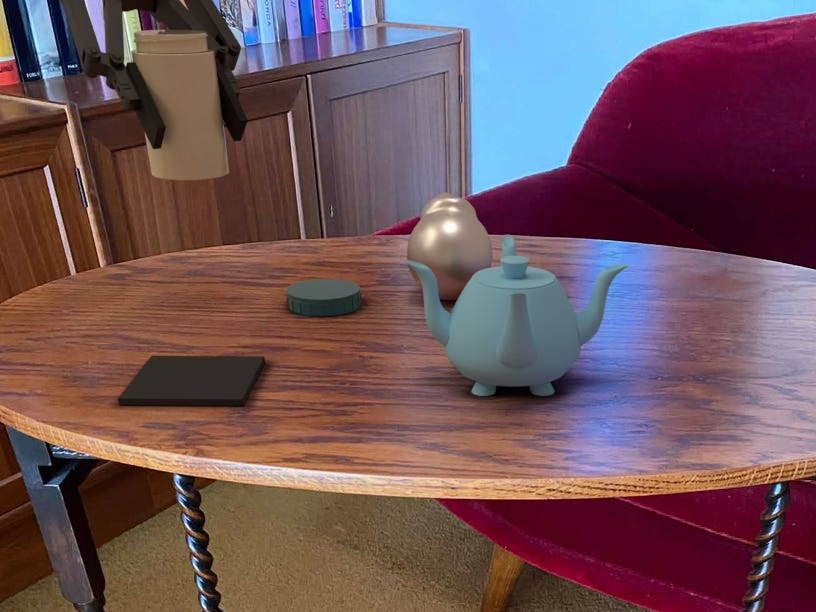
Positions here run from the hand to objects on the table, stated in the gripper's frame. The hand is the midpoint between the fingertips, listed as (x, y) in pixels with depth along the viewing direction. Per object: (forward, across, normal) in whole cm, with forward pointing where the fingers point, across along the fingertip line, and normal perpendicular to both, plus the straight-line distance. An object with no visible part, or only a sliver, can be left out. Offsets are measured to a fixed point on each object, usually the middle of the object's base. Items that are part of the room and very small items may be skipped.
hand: (200, 134), depth 87 cm
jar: (0, 0, -5) cm, 5 cm away
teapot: (+34, -11, +11) cm, 37 cm away
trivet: (+22, +11, 0) cm, 25 cm away
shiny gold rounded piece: (+18, -21, -5) cm, 28 cm away
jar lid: (+13, -9, -8) cm, 18 cm away
